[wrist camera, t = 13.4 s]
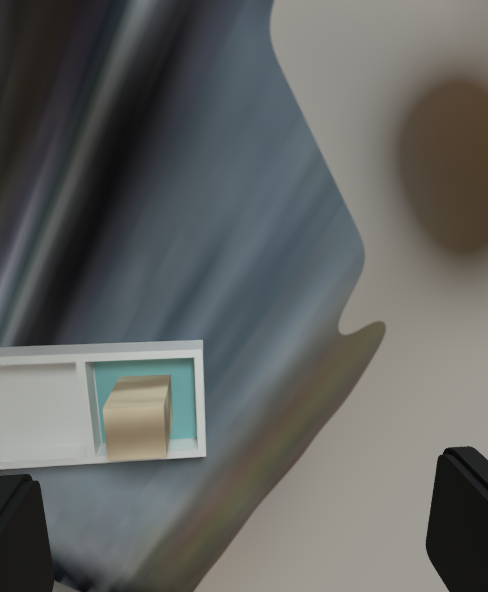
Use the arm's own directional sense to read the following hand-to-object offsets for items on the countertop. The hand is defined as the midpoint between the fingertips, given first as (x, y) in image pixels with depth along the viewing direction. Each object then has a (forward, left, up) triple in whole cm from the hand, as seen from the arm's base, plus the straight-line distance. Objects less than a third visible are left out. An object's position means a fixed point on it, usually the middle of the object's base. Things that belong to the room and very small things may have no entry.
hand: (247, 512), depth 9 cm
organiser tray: (+12, -13, -28) cm, 33 cm away
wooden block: (+12, -7, -28) cm, 31 cm away
